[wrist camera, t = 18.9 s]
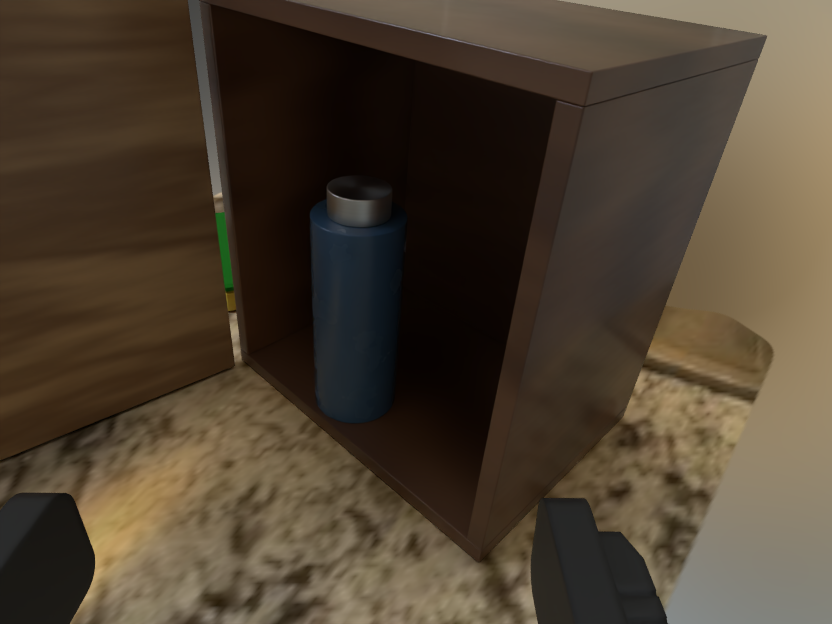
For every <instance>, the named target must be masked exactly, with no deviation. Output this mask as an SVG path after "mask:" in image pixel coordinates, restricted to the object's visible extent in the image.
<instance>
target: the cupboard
mask: <svg viewBox="0 0 832 624" xmlns="http://www.w3.org/2000/svg"><path fill="white" fill-rule="evenodd" d="M199 1H201V2H200V10H201V19H202V28H203V36H204V45H205V53H206V61H207V70H208V78H209V86H210V94H211V103H212V112H213V120H214V128H215V136H216V144H217V153H218V161H219V169H220V178H221V187H222V195H223V203H224V212H225V220H226V229H227V237H228V245H229V254H230V262H231V270H232V279H233V287H234V295H235V304H236V312H237V320H238V329H239V337H240V346H241V356H242V360H243V361H244V362H246V363H247V364H248V365H249V366H250V367H251V368H253V369H254V370H255V371H256V372H257V373H258V374H260V375H261V376H262V377H263V378H264V379H265V380H267V381H268V382H269V383H270V384H271V385H272V386H274V387H275V388H276V389H277V390H278V391H279V392H281V393H282V394H283V395H284V396H285V397H286V398H288V399H289V400H290V401H291V402H292V403H293V404H295V405H296V406H297V407H298V408H299V409H300V410H302V411H303V412H304V413H305V414H306V415H307V416H308V417H310V418H311V419H312V420H313V421H314V422H315V423H317V424H318V425H319V426H320V427H321V428H322V429H324V430H325V431H326V432H327V433H328V434H329V435H331V436H332V437H333V438H334V439H335V440H336V441H338V442H339V443H340V444H341V445H342V446H343V447H345V448H346V449H347V450H348V451H349V452H350V453H352V454H353V455H354V456H355V457H356V458H357V459H359V460H360V461H361V462H362V463H363V464H364V465H366V466H367V467H368V468H369V469H370V470H371V471H373V472H374V473H375V474H376V475H377V476H378V477H380V478H381V479H382V480H383V481H384V482H385V483H387V484H388V485H389V486H390V487H391V488H392V489H393V490H395V491H396V492H397V493H398V494H399V495H400V496H402V497H403V498H404V499H405V500H406V501H407V502H409V503H410V504H411V505H412V506H413V507H414V508H416V509H417V510H418V511H419V512H420V513H421V514H423V515H424V516H425V517H426V518H427V519H428V520H430V521H431V522H432V523H433V524H434V525H435V526H437V527H438V528H439V529H440V530H441V531H442V532H444V533H445V534H446V535H447V536H448V537H449V538H451V539H452V540H453V541H454V542H455V543H456V544H458V545H459V546H460V547H461V548H462V549H463V550H465V551H466V552H467V553H468V554H469V555H470V556H472V557H473V558H474V559H475V560H476V561H477V562H480V561H481V560H482V559H483V558H484V557H485V556H486V555H487V554H488V553H489V552H490V551H491V550H492V549H493V548H494V547H495V546H496V545H497V544H498V543H499V542H500V541H501V540H502V539H503V538H504V537H505V536H506V535H507V534H508V533H509V532H510V531H511V530H512V529H513V527H514V526H515V525H516V524H517V523H518V522H519V521H520V520H521V519H522V518H523V517H524V516H525V515H526V514H527V513H528V512H529V511H530V510H531V509H532V508H533V507H534V506H535V505H536V504H537V503H538V502H539V501H540V499H541V498H543V497H544V496H545V495H546V494H547V493H548V492H549V491H550V490H551V489H552V488H553V487H554V486H555V485H556V484H557V483H558V482H559V481H560V480H561V479H562V478H563V477H564V476H565V475H566V474H567V473H568V472H569V471H570V470H571V469H572V468H573V467H574V466H575V465H576V464H577V462H578V461H579V460H580V459H581V458H582V457H583V456H584V455H585V454H586V453H587V452H588V451H589V450H590V449H591V448H592V447H593V446H594V445H595V444H596V443H597V442H598V441H599V440H600V439H601V438H602V437H603V436H604V435H605V434H606V433H607V432H608V431H609V430H610V429H611V428H612V427H613V426H614V425H615V424H616V423H617V422H618V421H619V420H620V419H621V418H622V417H623V416H624V413H625V410H626V408H627V405H628V402H629V400H630V397H631V394H632V392H633V389H634V386H635V384H636V381H637V379H638V376H639V373H640V371H641V368H642V365H643V363H644V360H645V357H646V355H647V352H648V349H649V347H650V344H651V342H652V339H653V336H654V334H655V331H656V328H657V326H658V323H659V320H660V318H661V315H662V313H663V310H664V307H665V305H666V302H667V299H668V297H669V294H670V291H671V289H672V286H673V283H674V281H675V278H676V276H677V273H678V270H679V268H680V265H681V262H682V260H683V257H684V254H685V252H686V249H687V247H688V244H689V241H690V239H691V236H692V233H693V230H694V228H695V225H696V223H697V220H698V218H699V215H700V212H701V210H702V207H703V204H704V201H705V199H706V196H707V194H708V191H709V188H710V186H711V183H712V181H713V178H714V175H715V173H716V170H717V167H718V165H719V162H720V159H721V157H722V154H723V152H724V149H725V146H726V144H727V141H728V138H729V136H730V133H731V130H732V128H733V125H734V123H735V120H736V117H737V114H738V112H739V109H740V107H741V104H742V101H743V99H744V96H745V93H746V91H747V88H748V85H749V83H750V80H751V77H752V75H753V72H754V70H755V67H756V64H757V62H758V58H759V56H760V54H761V51H762V49H763V46H764V43H765V41H766V38H767V36H766V35H762V34H755V33H750V32H744V31H738V30H731V29H726V28H720V27H713V26H707V25H702V24H696V23H690V22H683V21H677V20H672V19H666V18H660V17H654V16H648V15H641V14H635V13H630V12H623V11H617V10H611V9H606V8H600V7H594V6H588V5H582V4H576V3H570V2H564V1H557V0H199ZM352 175H361V176H370V177H375V178H378V179H381V180H384V181H386V182H387V183H389V184H390V185H391V187H392V202H394V203H396V204H398V205H399V206H401V207H402V208H403V209H404V210H405V211H406V213H407V216H408V222H407V236H406V249H405V263H404V277H403V291H402V304H401V318H400V332H399V346H398V359H397V373H396V387H395V399H394V403H393V405H392V407H391V408H390V409H389V411H388V412H387V413H386V414H384V415H383V416H381V417H380V418H378V419H375V420H373V421H370V422H365V423H345V422H340V421H337V420H334V419H332V418H330V417H328V416H327V415H326V414H324V413H323V412H322V411H321V410H320V408H319V407H318V405H317V403H316V399H315V374H314V341H313V308H312V276H311V243H310V211H311V209H312V208H313V206H314V205H316V204H317V203H319V202H320V201H323V200H325V199H327V185H328V183H329V182H330V181H332V180H333V179H336V178H339V177H343V176H352Z"/></svg>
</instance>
